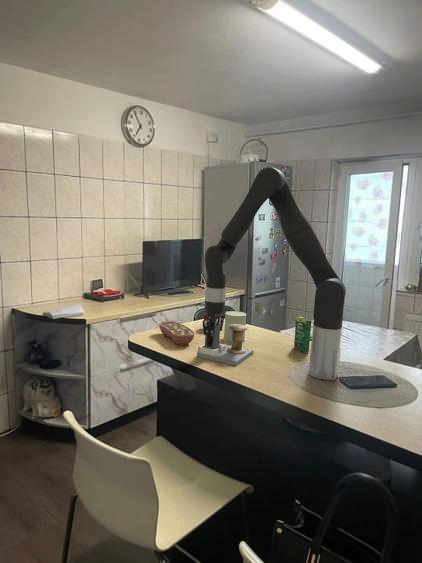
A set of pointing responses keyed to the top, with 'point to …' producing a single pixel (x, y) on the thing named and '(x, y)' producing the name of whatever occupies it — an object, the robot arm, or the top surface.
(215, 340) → the gray rectangular block
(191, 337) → the bread loaf
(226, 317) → the can
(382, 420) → the top surface
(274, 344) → the top surface
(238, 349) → the bobbin
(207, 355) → the board
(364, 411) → the top surface
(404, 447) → the top surface
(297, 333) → the coffee box
